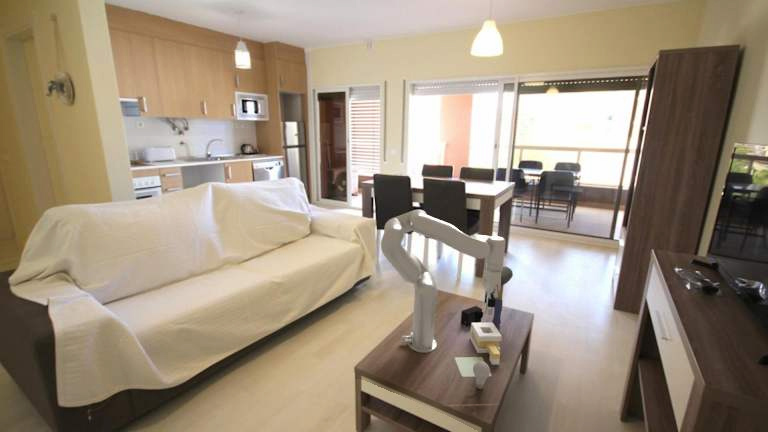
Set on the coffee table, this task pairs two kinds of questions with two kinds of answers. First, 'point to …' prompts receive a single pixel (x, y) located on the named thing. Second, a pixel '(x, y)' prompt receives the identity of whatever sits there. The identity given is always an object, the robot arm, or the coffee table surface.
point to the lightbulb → (481, 373)
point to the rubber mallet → (505, 277)
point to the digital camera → (471, 315)
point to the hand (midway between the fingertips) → (489, 304)
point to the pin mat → (467, 365)
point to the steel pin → (488, 309)
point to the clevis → (486, 340)
